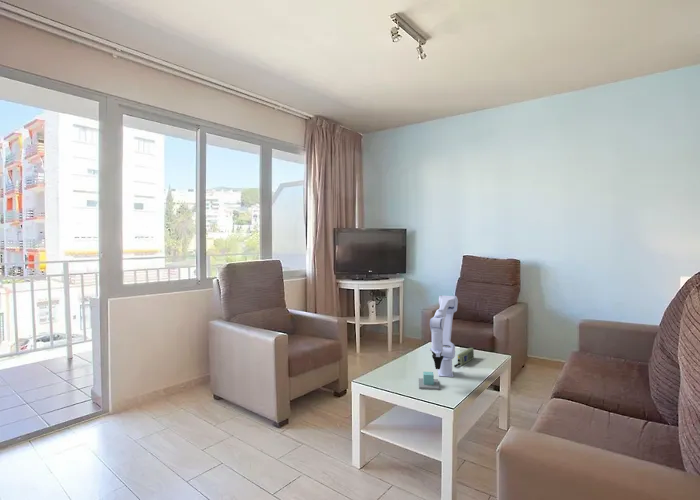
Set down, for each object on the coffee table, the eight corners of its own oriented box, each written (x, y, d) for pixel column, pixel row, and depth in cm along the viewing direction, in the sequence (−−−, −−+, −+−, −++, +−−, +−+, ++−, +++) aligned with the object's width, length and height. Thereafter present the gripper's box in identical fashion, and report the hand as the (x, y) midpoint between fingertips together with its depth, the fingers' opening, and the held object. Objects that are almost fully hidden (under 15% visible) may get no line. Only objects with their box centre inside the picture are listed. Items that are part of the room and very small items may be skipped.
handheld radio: (474, 358, 237) (458, 368, 218) (469, 357, 240) (452, 367, 220) (474, 348, 238) (457, 357, 218) (469, 347, 240) (452, 356, 221)
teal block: (423, 380, 197) (423, 371, 197) (433, 381, 196) (432, 371, 196) (423, 384, 192) (423, 374, 192) (433, 385, 191) (433, 375, 191)
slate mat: (418, 380, 201) (418, 378, 201) (437, 381, 199) (437, 379, 199) (419, 388, 189) (419, 386, 189) (439, 389, 187) (439, 387, 187)
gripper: (428, 336, 202) (429, 361, 202) (429, 344, 188) (430, 370, 188) (442, 337, 201) (442, 362, 201) (444, 344, 186) (444, 371, 187)
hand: (437, 366), depth 194 cm, fingers open, 7 cm apart
